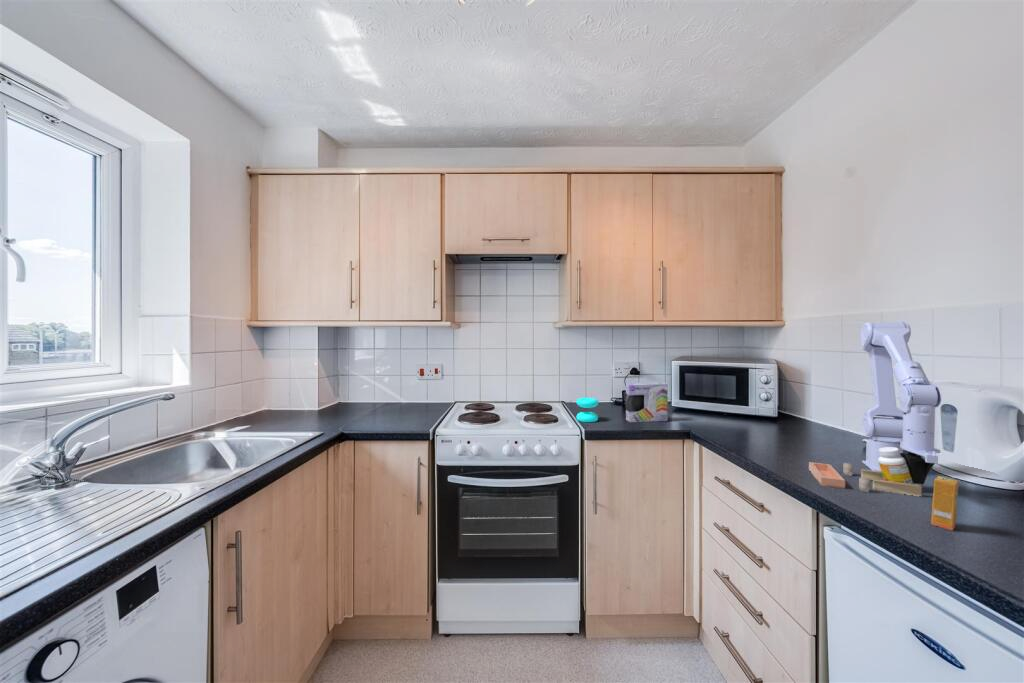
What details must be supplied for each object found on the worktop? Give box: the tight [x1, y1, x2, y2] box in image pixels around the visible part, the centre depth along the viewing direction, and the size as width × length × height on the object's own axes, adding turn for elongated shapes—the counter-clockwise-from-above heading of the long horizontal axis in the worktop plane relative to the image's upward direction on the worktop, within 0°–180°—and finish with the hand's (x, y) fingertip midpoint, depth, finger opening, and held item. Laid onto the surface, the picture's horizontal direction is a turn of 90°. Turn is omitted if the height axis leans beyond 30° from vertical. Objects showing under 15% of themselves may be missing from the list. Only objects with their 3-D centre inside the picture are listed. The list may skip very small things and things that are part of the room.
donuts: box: [576, 397, 599, 423], centre depth 183 cm, size 10×10×10 cm
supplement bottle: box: [878, 447, 914, 484], centre depth 104 cm, size 5×5×10 cm
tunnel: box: [842, 462, 923, 497], centre depth 106 cm, size 15×12×3 cm
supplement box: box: [930, 475, 959, 531], centre depth 83 cm, size 3×3×10 cm
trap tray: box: [808, 461, 846, 490], centre depth 111 cm, size 14×5×2 cm, turn 154°
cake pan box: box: [624, 382, 669, 423], centre depth 182 cm, size 19×5×18 cm, turn 92°
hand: (917, 483), depth 102 cm, fingers closed, pressing on supplement bottle
